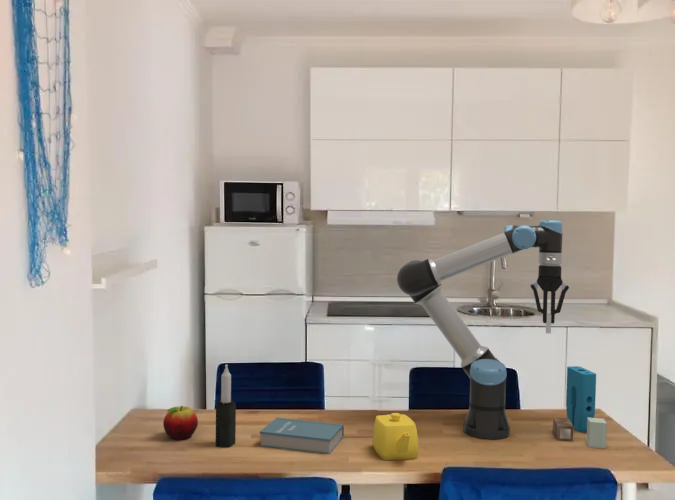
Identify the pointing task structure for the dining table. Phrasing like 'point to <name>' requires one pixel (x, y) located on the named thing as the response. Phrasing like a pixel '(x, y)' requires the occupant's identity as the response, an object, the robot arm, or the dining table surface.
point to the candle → (225, 413)
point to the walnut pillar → (563, 429)
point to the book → (302, 435)
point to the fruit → (180, 422)
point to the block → (580, 396)
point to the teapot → (395, 437)
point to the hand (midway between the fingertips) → (548, 332)
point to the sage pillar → (596, 432)
